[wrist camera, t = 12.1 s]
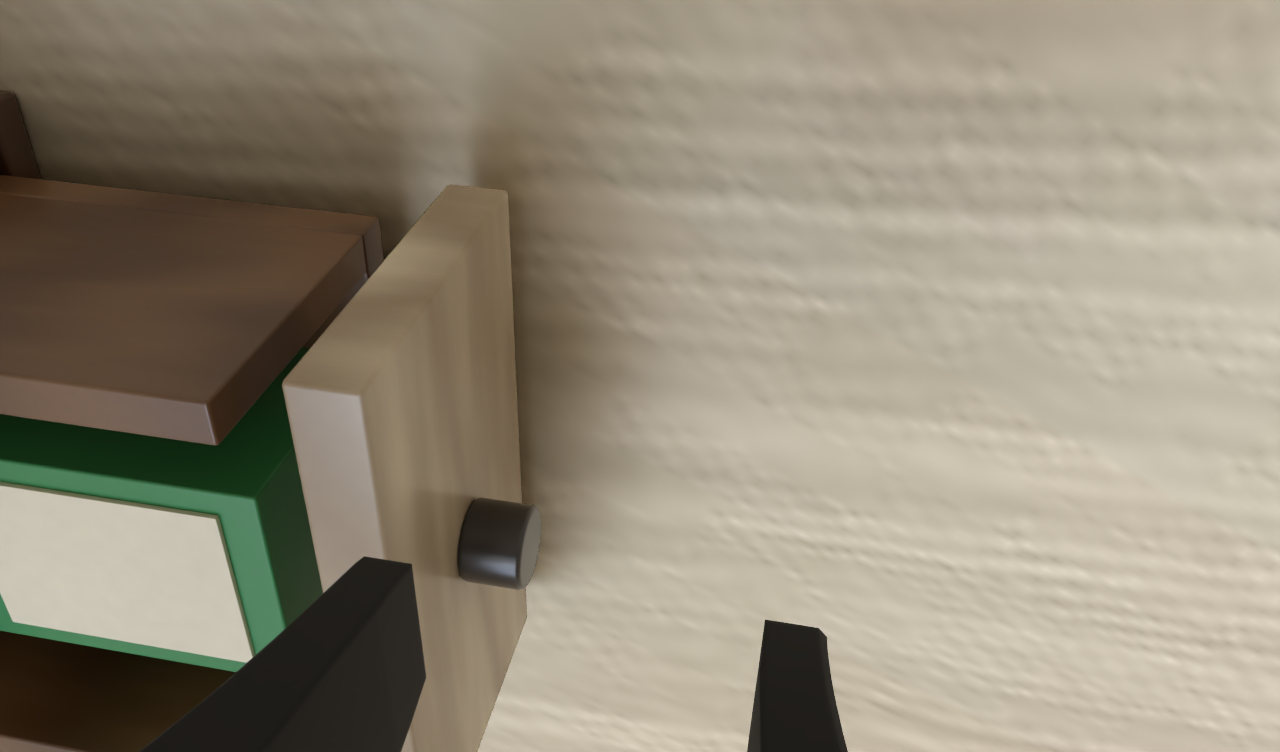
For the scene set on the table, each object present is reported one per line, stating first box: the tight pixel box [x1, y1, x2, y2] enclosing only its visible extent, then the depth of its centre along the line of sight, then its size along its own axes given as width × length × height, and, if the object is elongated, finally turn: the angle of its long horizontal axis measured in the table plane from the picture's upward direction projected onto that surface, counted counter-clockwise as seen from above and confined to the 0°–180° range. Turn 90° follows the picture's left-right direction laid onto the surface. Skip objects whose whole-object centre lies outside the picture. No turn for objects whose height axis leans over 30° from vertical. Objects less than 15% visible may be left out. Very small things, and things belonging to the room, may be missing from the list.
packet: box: [0, 347, 323, 672], centre depth 21 cm, size 5×6×5 cm
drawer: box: [0, 175, 541, 752], centre depth 21 cm, size 14×11×7 cm
